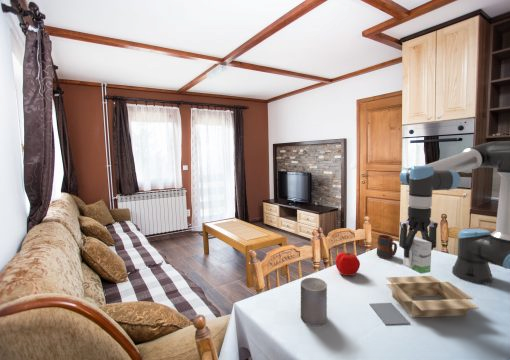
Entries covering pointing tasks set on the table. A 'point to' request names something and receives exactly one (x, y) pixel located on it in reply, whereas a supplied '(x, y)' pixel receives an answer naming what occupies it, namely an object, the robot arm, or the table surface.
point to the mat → (389, 314)
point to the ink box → (420, 255)
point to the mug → (386, 247)
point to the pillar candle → (313, 301)
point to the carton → (429, 286)
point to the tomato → (347, 263)
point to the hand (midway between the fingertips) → (416, 265)
